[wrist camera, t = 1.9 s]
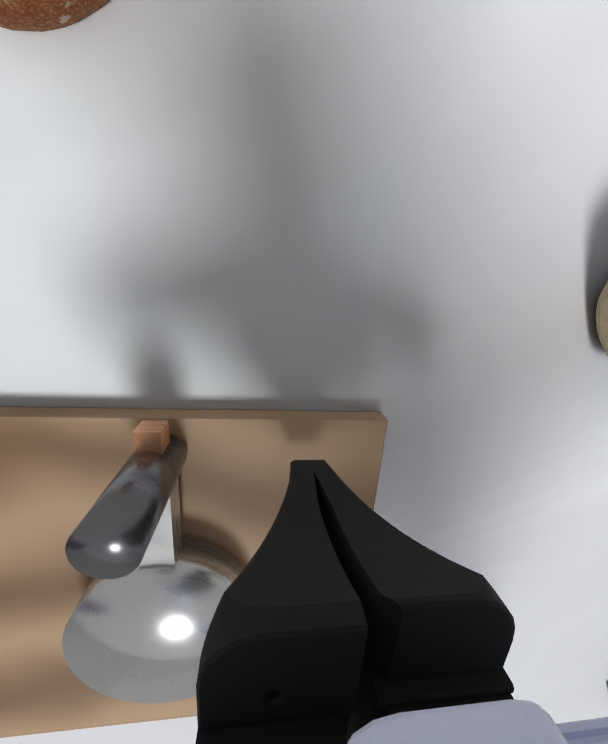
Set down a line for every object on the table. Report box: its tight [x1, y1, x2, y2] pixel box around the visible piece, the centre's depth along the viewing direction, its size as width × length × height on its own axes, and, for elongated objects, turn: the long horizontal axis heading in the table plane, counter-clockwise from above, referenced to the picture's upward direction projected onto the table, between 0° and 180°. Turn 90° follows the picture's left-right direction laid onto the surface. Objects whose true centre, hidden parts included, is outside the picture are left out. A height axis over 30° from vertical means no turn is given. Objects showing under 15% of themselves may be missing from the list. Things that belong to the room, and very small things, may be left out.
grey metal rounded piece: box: [62, 420, 244, 704], centre depth 12 cm, size 14×8×5 cm, turn 176°
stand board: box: [0, 407, 387, 738], centre depth 15 cm, size 20×23×4 cm
